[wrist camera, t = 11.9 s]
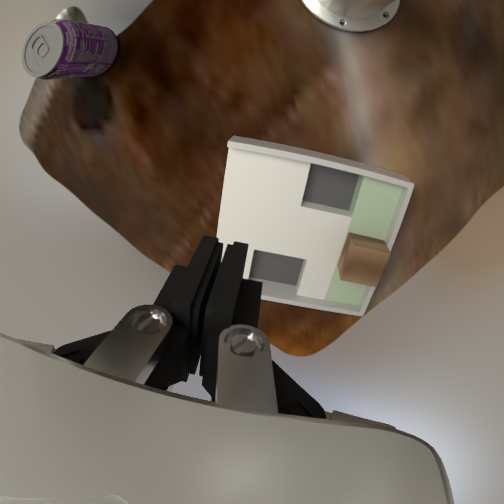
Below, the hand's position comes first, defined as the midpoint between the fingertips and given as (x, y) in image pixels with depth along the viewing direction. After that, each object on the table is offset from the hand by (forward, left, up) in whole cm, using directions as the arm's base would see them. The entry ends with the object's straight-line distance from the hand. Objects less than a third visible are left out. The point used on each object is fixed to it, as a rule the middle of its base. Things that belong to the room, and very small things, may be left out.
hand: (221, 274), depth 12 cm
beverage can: (-10, -24, -29) cm, 39 cm away
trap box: (+10, +7, -29) cm, 32 cm away
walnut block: (+11, +15, -27) cm, 32 cm away
